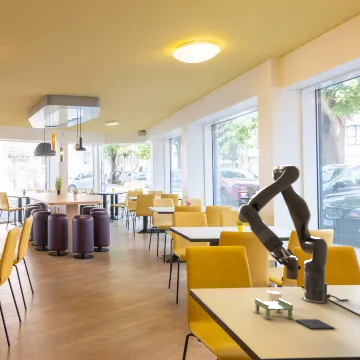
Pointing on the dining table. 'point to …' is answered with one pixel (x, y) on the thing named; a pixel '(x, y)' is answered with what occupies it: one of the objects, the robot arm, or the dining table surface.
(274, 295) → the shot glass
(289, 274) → the brown bottle
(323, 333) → the dining table surface
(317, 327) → the mat
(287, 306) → the tray
